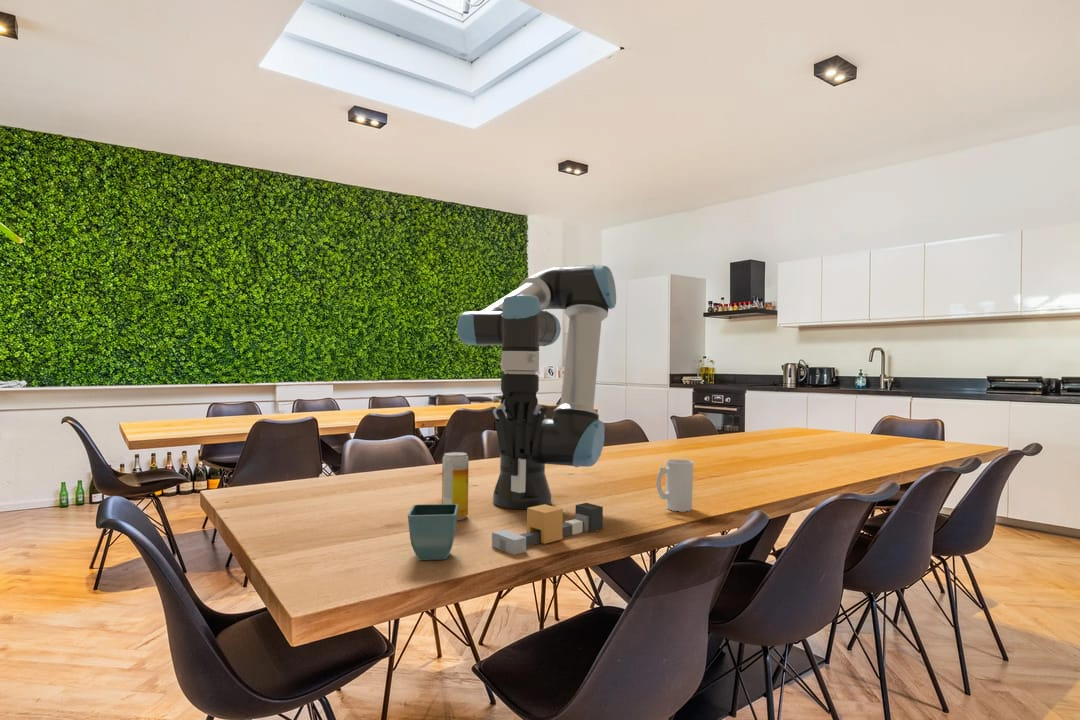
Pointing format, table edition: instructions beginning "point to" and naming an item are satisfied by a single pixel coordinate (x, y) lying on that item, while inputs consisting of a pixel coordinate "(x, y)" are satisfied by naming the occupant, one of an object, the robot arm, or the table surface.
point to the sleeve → (545, 522)
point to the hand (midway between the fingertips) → (518, 491)
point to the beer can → (455, 481)
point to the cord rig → (585, 520)
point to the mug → (677, 484)
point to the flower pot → (432, 530)
